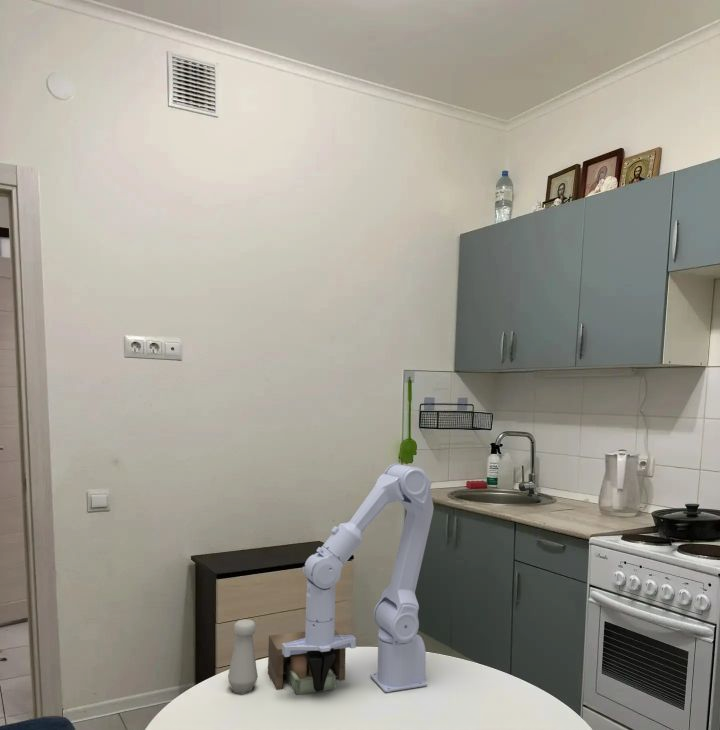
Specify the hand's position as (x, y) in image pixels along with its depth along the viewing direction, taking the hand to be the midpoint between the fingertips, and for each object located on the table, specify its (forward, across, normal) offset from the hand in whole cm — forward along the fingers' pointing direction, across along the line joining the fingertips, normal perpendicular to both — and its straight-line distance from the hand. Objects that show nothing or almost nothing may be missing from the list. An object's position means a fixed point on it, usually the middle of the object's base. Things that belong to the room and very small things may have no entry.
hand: (318, 689), depth 117 cm
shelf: (+1, 0, +9) cm, 9 cm away
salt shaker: (+1, -14, +7) cm, 15 cm away
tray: (+1, 0, +6) cm, 6 cm away
